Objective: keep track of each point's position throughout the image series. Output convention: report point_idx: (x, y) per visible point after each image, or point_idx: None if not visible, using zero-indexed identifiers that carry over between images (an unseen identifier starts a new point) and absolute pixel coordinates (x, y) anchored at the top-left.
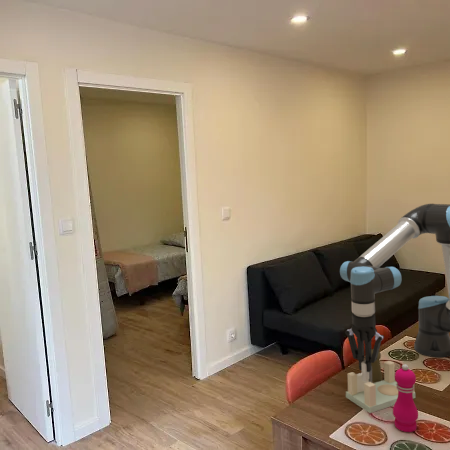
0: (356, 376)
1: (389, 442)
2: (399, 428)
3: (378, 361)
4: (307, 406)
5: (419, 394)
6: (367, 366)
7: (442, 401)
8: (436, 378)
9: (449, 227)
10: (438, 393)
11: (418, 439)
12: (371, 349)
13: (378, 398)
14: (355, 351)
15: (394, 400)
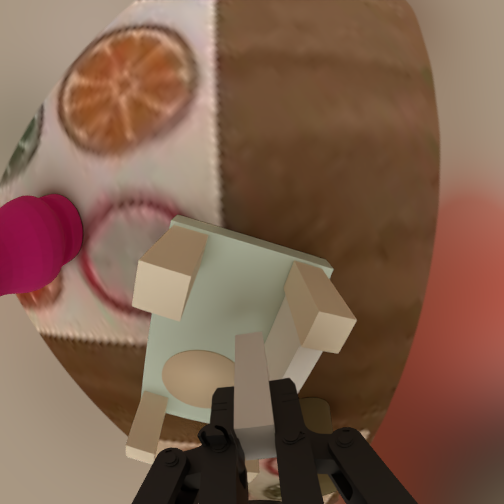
0: (300, 336)
1: (48, 111)
2: (51, 194)
3: None
4: (399, 97)
5: None
6: (228, 416)
7: (98, 402)
8: None
9: None
10: (129, 427)
11: (13, 195)
12: (332, 492)
13: (191, 312)
14: (353, 488)
15: (148, 337)
